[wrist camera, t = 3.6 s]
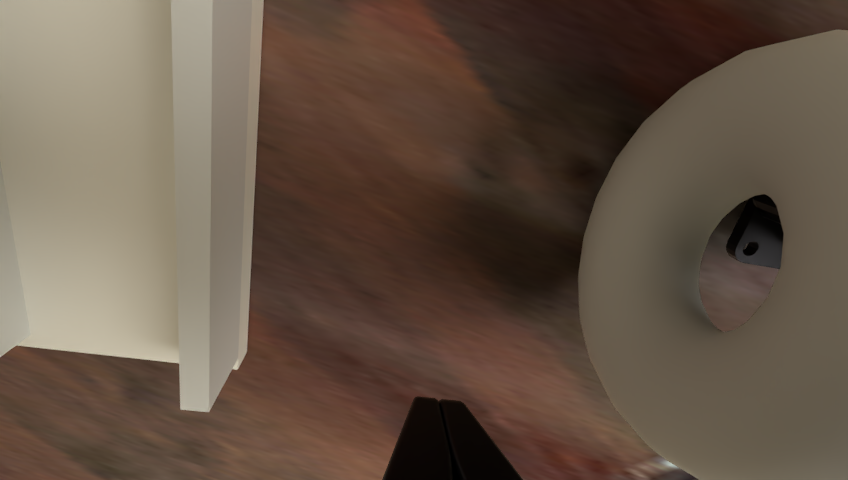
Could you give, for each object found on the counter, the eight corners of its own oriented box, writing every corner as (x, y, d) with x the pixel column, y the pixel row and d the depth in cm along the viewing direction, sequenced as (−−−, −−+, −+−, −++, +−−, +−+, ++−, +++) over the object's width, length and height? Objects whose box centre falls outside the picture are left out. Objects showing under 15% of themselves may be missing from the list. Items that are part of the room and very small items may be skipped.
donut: (612, 328, 17) (887, 659, 7) (530, 313, 16) (714, 648, 7) (741, 59, 13) (1590, 41, 4) (641, 29, 12) (1341, -78, 3)
